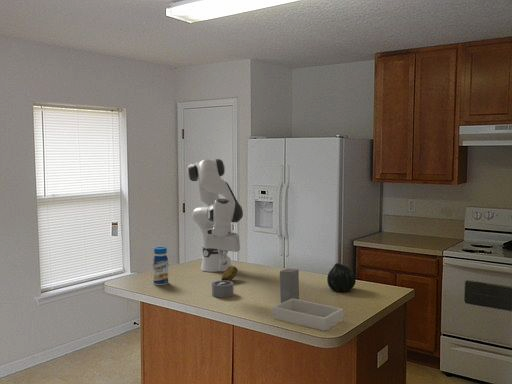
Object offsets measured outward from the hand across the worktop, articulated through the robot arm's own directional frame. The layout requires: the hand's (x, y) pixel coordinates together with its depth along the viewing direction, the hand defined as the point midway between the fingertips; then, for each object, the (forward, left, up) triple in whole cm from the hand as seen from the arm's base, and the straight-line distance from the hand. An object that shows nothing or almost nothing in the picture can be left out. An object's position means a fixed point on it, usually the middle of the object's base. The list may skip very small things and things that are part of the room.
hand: (222, 258), depth 249 cm
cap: (0, 0, -18) cm, 18 cm away
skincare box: (-10, +34, -19) cm, 40 cm away
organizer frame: (+6, +54, -19) cm, 57 cm away
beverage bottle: (+4, -42, -19) cm, 46 cm away
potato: (-22, -15, -19) cm, 32 cm away
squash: (-44, +44, -19) cm, 65 cm away
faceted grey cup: (0, 0, -19) cm, 19 cm away
